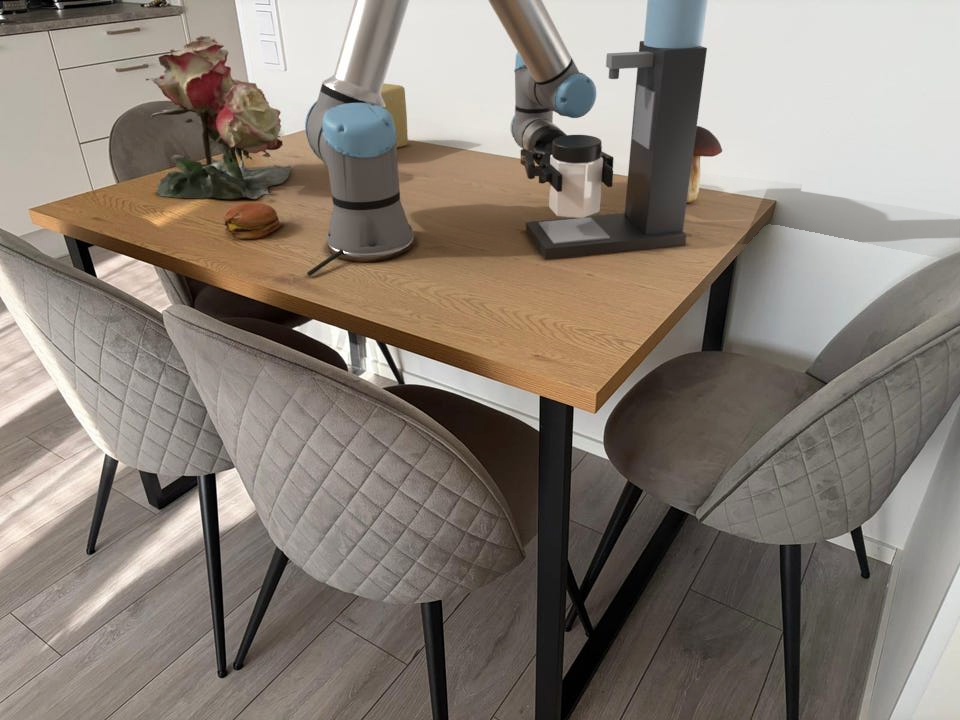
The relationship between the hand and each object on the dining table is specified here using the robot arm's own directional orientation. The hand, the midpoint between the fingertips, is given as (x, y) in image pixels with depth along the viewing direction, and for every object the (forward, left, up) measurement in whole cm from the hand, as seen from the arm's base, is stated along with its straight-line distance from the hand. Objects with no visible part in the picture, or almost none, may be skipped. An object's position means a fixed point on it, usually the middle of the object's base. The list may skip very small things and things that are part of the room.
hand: (585, 181), depth 120 cm
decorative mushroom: (+33, -7, -13) cm, 36 cm away
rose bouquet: (-4, +84, -13) cm, 85 cm away
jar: (+3, +3, -7) cm, 8 cm away
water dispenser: (+8, -1, -12) cm, 15 cm away
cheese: (+28, +73, -13) cm, 80 cm away
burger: (-23, +57, -13) cm, 63 cm away
